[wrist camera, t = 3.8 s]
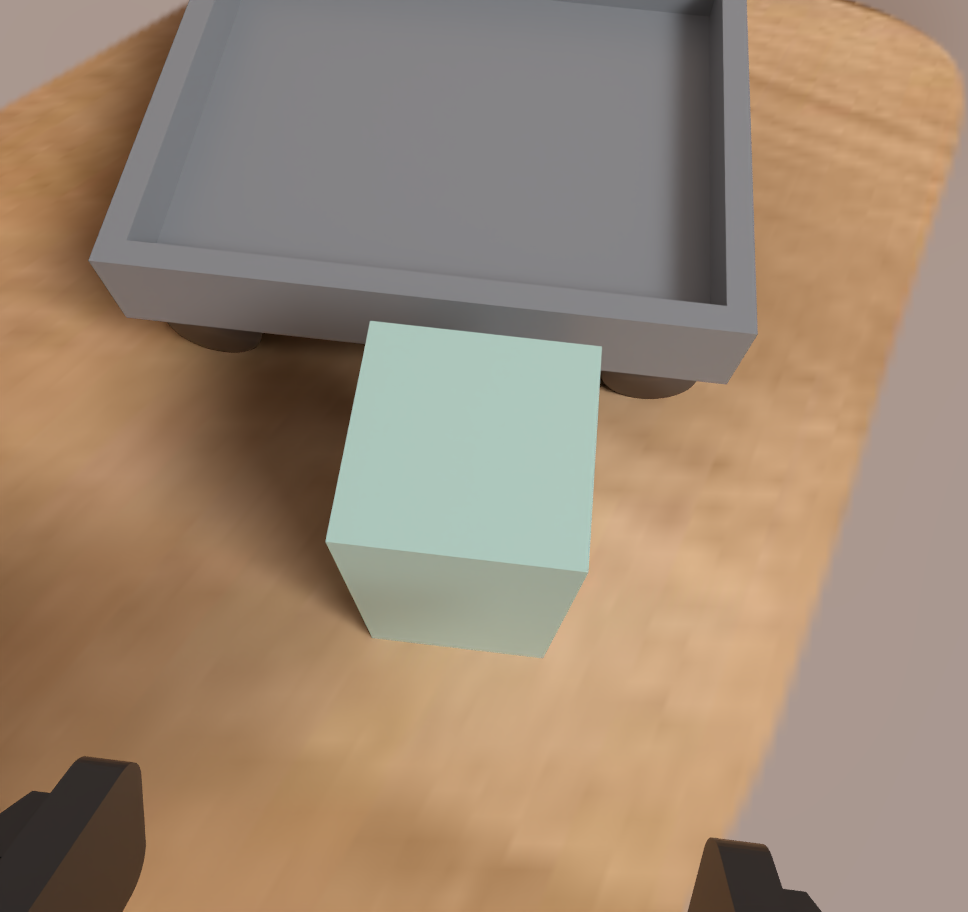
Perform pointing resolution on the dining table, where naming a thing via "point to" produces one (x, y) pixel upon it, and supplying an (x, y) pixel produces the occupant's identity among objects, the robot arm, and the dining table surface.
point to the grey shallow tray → (450, 179)
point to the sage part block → (467, 487)
